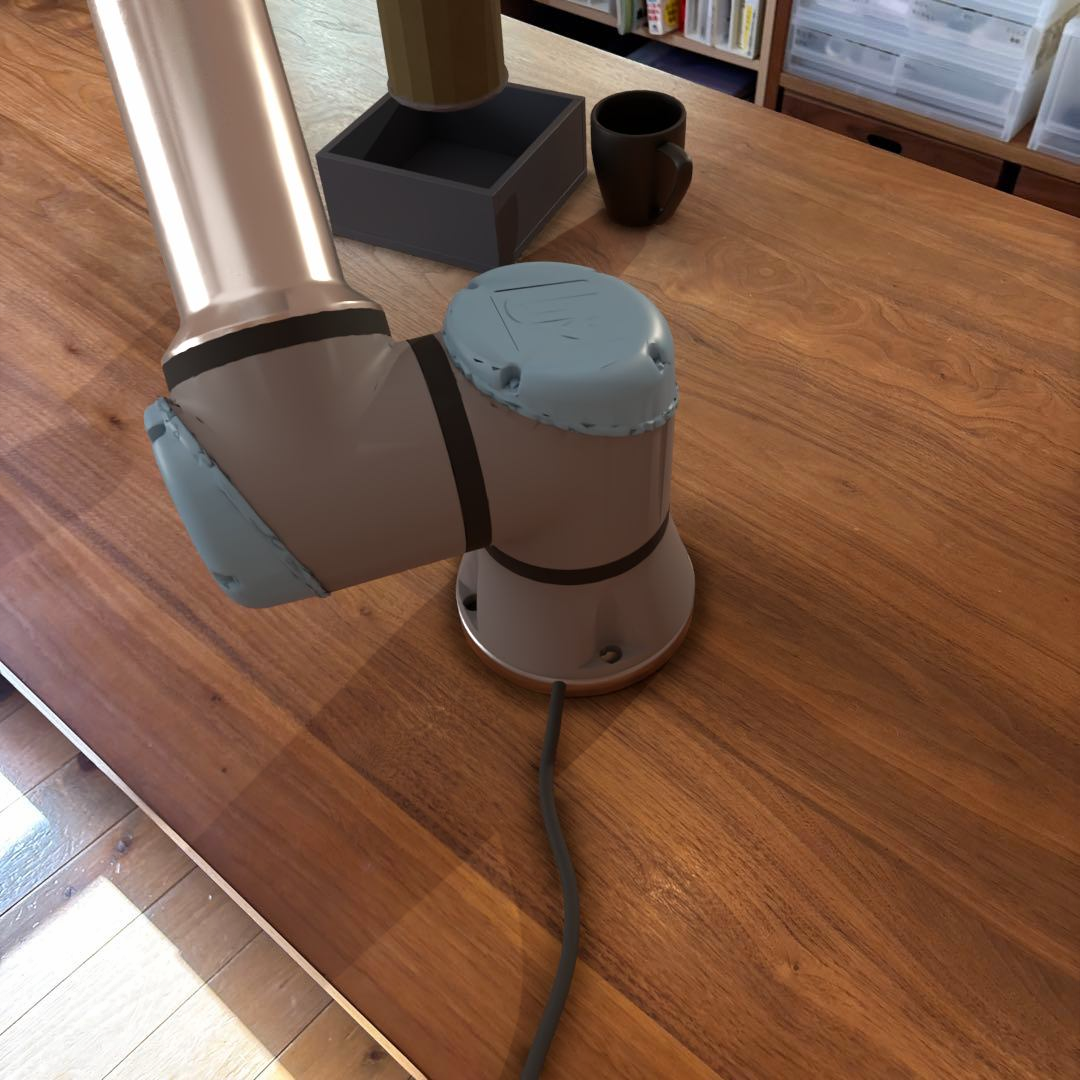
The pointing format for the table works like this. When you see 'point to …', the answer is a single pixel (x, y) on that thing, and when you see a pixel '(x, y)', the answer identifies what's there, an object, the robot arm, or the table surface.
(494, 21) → the canister
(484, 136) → the basket
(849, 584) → the table surface
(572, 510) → the robot arm
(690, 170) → the mug
